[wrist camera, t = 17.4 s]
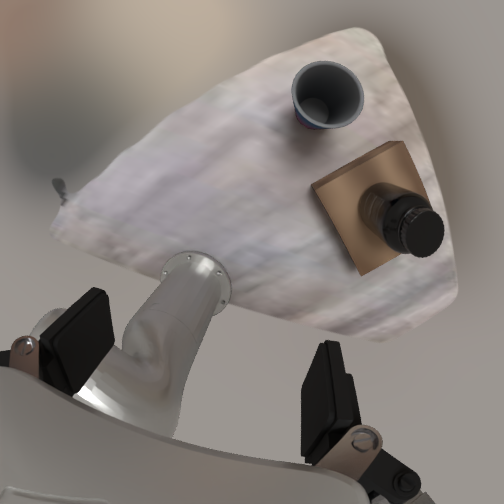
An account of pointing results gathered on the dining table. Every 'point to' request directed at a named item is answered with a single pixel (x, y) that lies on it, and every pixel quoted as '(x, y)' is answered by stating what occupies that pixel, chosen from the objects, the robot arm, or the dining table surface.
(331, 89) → the cup
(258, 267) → the dining table surface
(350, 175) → the walnut block
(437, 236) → the supplement bottle
